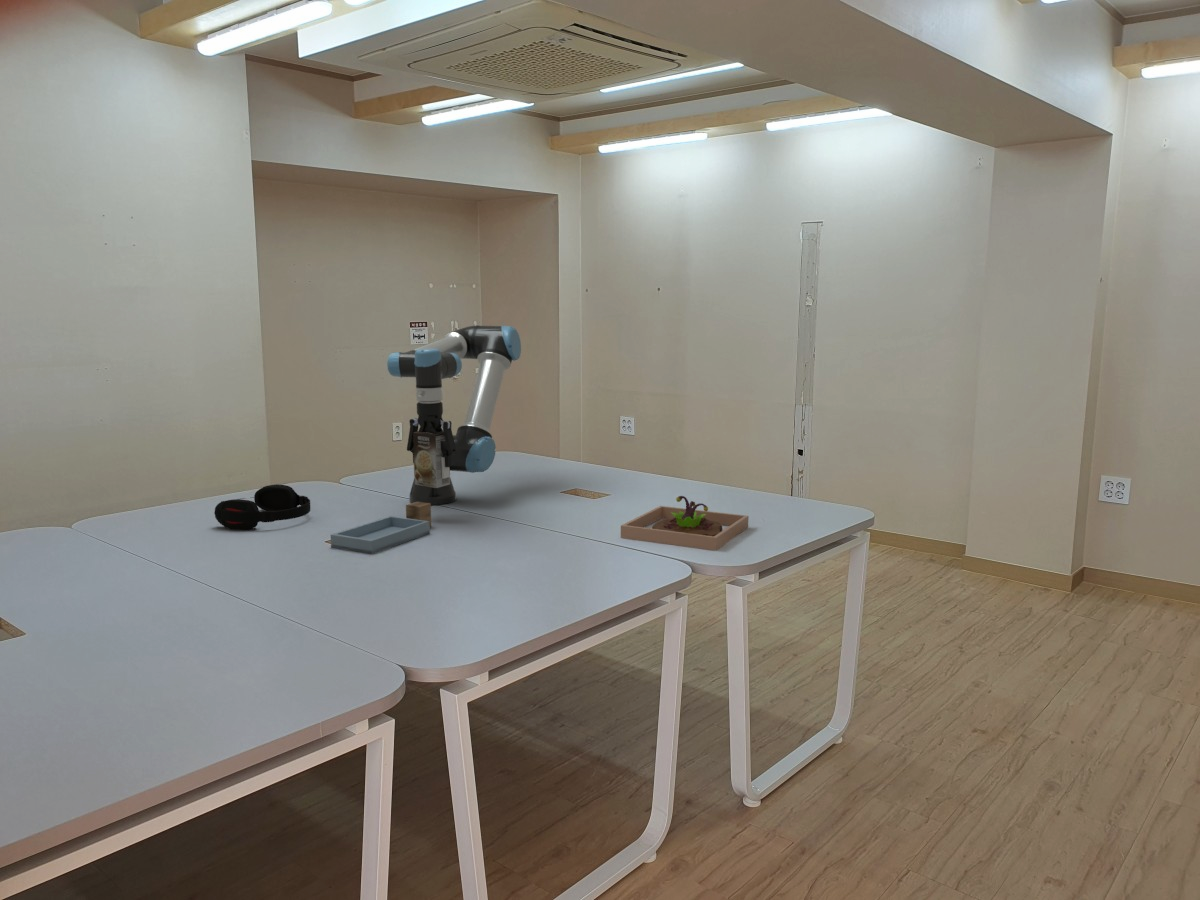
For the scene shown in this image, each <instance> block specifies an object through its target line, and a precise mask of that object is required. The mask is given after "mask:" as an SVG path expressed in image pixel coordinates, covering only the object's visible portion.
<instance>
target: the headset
mask: <svg viewBox="0 0 1200 900" xmlns="http://www.w3.org/2000/svg"><path fill="white" fill-rule="evenodd" d="M251 499H254V501H253V500H248V499H245V497H243V498H237V499H228V500H221V501H220V502H219V503H217V505H216V506H215V507H214V516H215V519H216V521H217V522H218V523H219V524H220V525H221V526H223V527H224V528H226V529H229V530H232V531H233V530H234V531H250V530H253V529H255V528H256V527H257V526H258V523H260V522H261V523H273V522H276V521H286V520H292V519H296V518H300V517H303V516H306V515H307V514H309V513H310V512H311V499H309V497H308V496H306V495H299V494H298V493H297V492H296V491H295V490H294V488H293V487H291V486H289V485H285V484H270V485H265V486H262V487H261V488H259V489H258V490H257V491H256V492H255V493H254V496H253V497H251ZM260 509H261V510H262V511H260Z"/></svg>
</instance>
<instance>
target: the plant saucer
mask: <svg viewBox="0 0 1200 900" xmlns="http://www.w3.org/2000/svg"><path fill="white" fill-rule="evenodd" d="M679 511H682V512H683V513H685V512H686V508H683V507H676V506H675V507H673V506H665V505H659V506H657V507H655V508H653V509H651V510H649V511H647V512H645V513H643V514H641V515H639V516H636V517H635V518H633V519H631V520H629V521H627V522H625V523H623V524H621V525H620V538H621V539H627V540H634V541H641V542H649V543H657V544H664V545H671V546H678V547H686V548H695V549H702V550H708V551H717V550H719V549H720V548H722V547H723V546H725V545H726V544H727V543H729V542H730V541H731V540H733V539H735V537H737V536H738V535H740V534H741V533H742V532H744V531H745V530H747V529H748V528H749V515H743V514H736V513H735V514H734V513H726V512H717V511H709V510H708V511H704V510H701V509H695V511H696V512H697V514H696V518H697V517H698V516H699V515H701V514H706V515H705V516H703V517H702V518H704V517H705V519H707V520H709V521H714V522H717V523H719V524H720V525H722V526H726V528H724V529H722V531H721V532H720V533H718V534H717V535H715V536H706V535H698V534H690V533H682V532H675V531H667V530H659V529H652V527H651V528H649V527H648V526H650V525H651V524H653V523H656V522H658V521H660V520H662V519H670V518H675V516H674V515H673V514H672V513H671V512H673V513H677V514H678V515H679V516H680V514H679Z"/></svg>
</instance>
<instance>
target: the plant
mask: <svg viewBox="0 0 1200 900" xmlns="http://www.w3.org/2000/svg"><path fill="white" fill-rule="evenodd" d="M683 499H684V502H685V509H686V512H685V513H683V512H682V511H679V514H680V516H679V515H678V514H677V513H673V512H671V513H672V514H673V515H674V516H675V518H670V519H666V518H662V519H660V520H657V521H656V522H654V524H653V525H652V526H651V529H659V530H667V531H675V532H682V533H690V534H698V535H706V536H715V535H717V534H718V533H720V532H721V531H723V525H720V524H719V523H717V522H714V521H709V520H707V519H705V517H704V518H702V517H703V516H705V515H706V514H701V515H699V516H698V517H697V518H696V514H697V512H696V511H695V510H697V508H698V507H700V506H703V511H709V507H708V506H707V505H706V504H704V503H696V502H695V501H692V500H690V502H689V500H688V498H687V497H686V496H683V495H678V496H677V497H676V499H675V500H676V502H677V503H678V502H679V503H680V502H681V501H682V500H683Z"/></svg>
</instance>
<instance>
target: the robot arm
mask: <svg viewBox="0 0 1200 900" xmlns="http://www.w3.org/2000/svg"><path fill="white" fill-rule="evenodd" d="M521 353H522V342H521V338H520V335H519V332H518V331H517V329H516V328H515V327H514V326H511V325H470V326H465V327H462V328H458V329H457V330H453V331H450V332H448V333H447V334H445V335H444V336H443V337H442V338H441V339H438V340H436V341H433V342H431V343H428V344H425V345H423V346H420V347H417V348H415V349H412V350H409V351H406V352H402V351H399V352H392V353H390V354H389V356H388V358H387V361H386V364H387V371H388V373H389V375H390V376H392V377H397V378H415V391H416V393H415V396H416V401H417V403H416V414H417V416H418V417H417V418H416V417H415V418H411V419H409V432H408V437H407V438H408V439H407V446H406V451H407V452H411V454H412V463H413V464H414V441H413V432H423V431H424V432H429V433H433V434H437V433H442V432H443V433H444V437H445V441H441V451H442V453H443V456H442V457H441V464H442V478H443V479H445V478H448V477H450V484H449V485H446V486H442V487H439V488H433V487H427V486H421V485H416V484H415V468H414V467H413V471H414V472H413V475H414V476H413V483H412V484H411V488H410V492H409V502H410V504H411V503H414V502H424V503H431V506H435V505H445V504H448V503H449V504H450V503H453V502H454V501H456V499H457V496H456V495H457V492H456V491H455V488H454V485H453V481H452V479H451V478H452V477H451V472H465V473H472V474H473V473H484V472H486V471H487V470H489V469H490V467H491V466H492V464H493V463H494V460H495V456H496V448H497V447H496V442H495V441H494V439H493V434H492V433H491V431H490V429H491V425H492V421H493V417H494V413H495V410H496V406H497V401H498V398H499V394H500V390H501V386H502V383H503V379H504V375H505V371H508V370H509V369H510V368H511V365H512V362H513V361H515V362H516V361H518V360H519V359H520V357H521ZM462 359H467V360H469V359H471V360H477V362H478V363H479V367H478V370H477V375H476V378H475V381H474V385H473V390H472V393H471V395H470V400H469V404H468V407H467V410H466V414H465V419H464V421H463V424H462V425H460V426H459V425H458V427H457V429H456V433H455V434H453V432H452V421H451V420H447V421H446V420H443V417H442V416H443V413H444V408H443V402H442V400H443V386H442V380H443V379H452V378H454V377H456V376H458V375H459V374H460V372H461V371H462V366H463V364H462ZM449 468H450V473H449Z"/></svg>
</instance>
